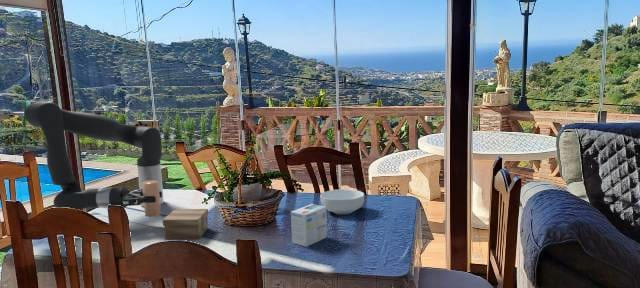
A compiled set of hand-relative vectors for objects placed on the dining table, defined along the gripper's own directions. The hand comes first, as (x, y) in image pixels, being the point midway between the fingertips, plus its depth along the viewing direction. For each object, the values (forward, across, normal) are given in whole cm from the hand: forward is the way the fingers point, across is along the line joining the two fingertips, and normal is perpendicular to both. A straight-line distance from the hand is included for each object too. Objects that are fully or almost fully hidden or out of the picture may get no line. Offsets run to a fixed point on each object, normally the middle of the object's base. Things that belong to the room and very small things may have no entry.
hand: (158, 196), depth 174 cm
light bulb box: (+55, -16, +11) cm, 59 cm away
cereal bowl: (+66, +15, +12) cm, 69 cm away
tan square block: (+12, -8, +11) cm, 19 cm away
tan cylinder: (-3, 0, +6) cm, 7 cm away
